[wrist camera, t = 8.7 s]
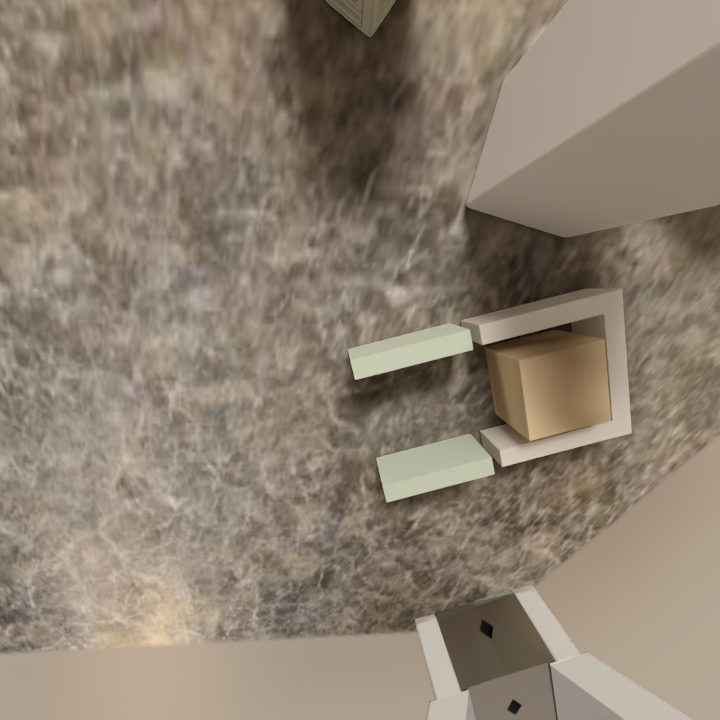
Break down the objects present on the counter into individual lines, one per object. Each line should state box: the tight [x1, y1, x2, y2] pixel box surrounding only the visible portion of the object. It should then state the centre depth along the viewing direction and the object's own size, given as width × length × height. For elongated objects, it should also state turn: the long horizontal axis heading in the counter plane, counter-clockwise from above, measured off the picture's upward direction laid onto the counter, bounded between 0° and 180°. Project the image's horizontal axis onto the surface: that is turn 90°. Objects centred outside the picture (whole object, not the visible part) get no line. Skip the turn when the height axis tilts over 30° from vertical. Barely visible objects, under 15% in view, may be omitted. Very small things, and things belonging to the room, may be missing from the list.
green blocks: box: [348, 323, 495, 502], centre depth 22 cm, size 7×9×4 cm
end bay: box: [460, 289, 632, 467], centre depth 22 cm, size 9×9×3 cm
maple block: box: [485, 329, 611, 441], centre depth 22 cm, size 5×5×4 cm
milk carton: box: [466, 0, 720, 238], centre depth 12 cm, size 7×7×19 cm
